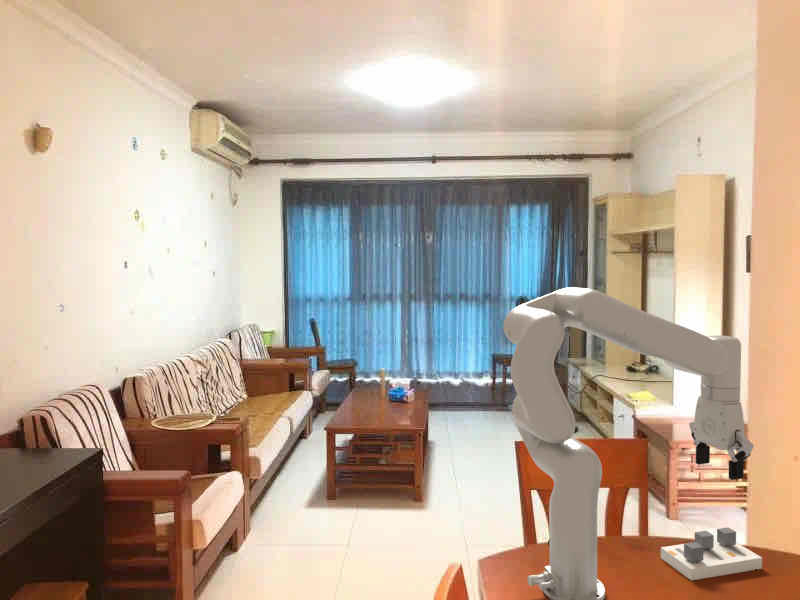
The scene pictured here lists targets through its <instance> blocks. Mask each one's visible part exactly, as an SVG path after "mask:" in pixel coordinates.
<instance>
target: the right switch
mask: <svg viewBox="0 0 800 600" xmlns="http://www.w3.org/2000/svg"><path fill="white" fill-rule="evenodd" d="M716 539H717V542H718V543H720V544H722V545H723V546H731V545H736V543H737V531H735V530H733V528H730V527H721V528H717V529H716Z"/></svg>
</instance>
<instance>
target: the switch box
mask: <svg viewBox="0 0 800 600" xmlns="http://www.w3.org/2000/svg"><path fill="white" fill-rule="evenodd" d="M684 544H685V543H682V544H674V545H669V546H668V545H667V546H661V547H660V558H661V559H662V560H663V561H664V562H665V563H666V564H668V565H670V567H672V568H674V569H675V570H676V571H678V572H679V573H680V574H682V575H684V577H685V578H687V579H688V580H690V581H695V580H701V579H702V580H703V579H706V578H707V579H708V578H714V577H715V578H716V577H719V576H727V575H731V574H738V573H743V572H744V573H745V572H751V571H755V569H757V570H762V569H763V557H762V556H760V555H758V554H756V553H755V552H753V551H752V550H750V549H749V548H747V547H744V546H743V545H741V544H740V543H737V542H736V545H731V546H723V545H722V544H720V543H718V542H717V538H715V539H714V546H713V548H711V549H705V550H704V554H703V560H702V561H696V562H690V561H689V560H688V559H686V558H685V557H684ZM750 570H751V571H750Z"/></svg>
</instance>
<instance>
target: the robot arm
mask: <svg viewBox="0 0 800 600" xmlns="http://www.w3.org/2000/svg"><path fill="white" fill-rule="evenodd" d="M502 327H503V332H504V334H505V336H506V338H507V339H508V341H510V343H512V344H513V345H515V348H514V351H513V354H512V357H511V361H510V369H509V371H510V378H511V381H512V385H513V386H514V389H515V392H516V396H515V398H514V400H513V402H512V408H511V411H512V413H511V414H512V419H513V421H514V424H515V426H516V428H517V430H518V432H519V435H520V437H521V439H522V441H523V443H524V445H525V447H526V448H527V451H528V453H529V455H530V457H531V459H532V460H533V462H534V463H535V465H536V466H537V467H538V469H540V470H541V471H542V472H544V473H545V474H546V475H548V476H549V478H551V479H552V480H553V489H552V492H551V495H550V499H549V505H548V508H549V510H548V512H549V513H548V517H549V521H548V522H549V525H548V526H549V530H548V532H549V538H550V548H549V565H546V566H544V571H543V572H541V574H533V575H528V576H527V583H528V585H529V587H532V586H538V587H539V590H540V591H543V593H544V594H545V595H546V596H547V597H548V598H549V599H550V600H604V599H605V598H606V588H605V586H604V584H603V582H602V581H600V580H599V579H598V502H599V501H598V499H599V492H600V487H601V483H602V482H601V481H602V476H603V468H602V463H601V462H602V461H601V460H600V458H599V456H598V455H597V453H596V452H595V451H594V450H593V449H592V448H591V447H589V446H588V445H587V444H586V443H583V442H582V441H580V440H578V439H577V438H574V437H573V436H574V433H575V429H576V419H575V416H574V411H573V410H572V408H571V406H570V403H569V402H568V399H567V397H566V395H565V393H564V390H563V389H562V387H561V385H560V382H559V380H558V377H557V375H556V372H555V367H554V366H555V360H556V356H557V354H558V351H559V349H560V348H561V346H562V343H563V342H564V337H565V332H566V331H565V330H566V329H565V328H568V327H569V328H574V329H575V328H576V329H579V330H582V331H584V332H586V333H589V334H591V335H594V336H596V337H598V338H601V339H603V340H605V341H607V342H610V343H612V344H615V345H616V346H619V347H621V348H624V349H626V350H629V351H631V352H635V353H638V354H641V355H643V356H644V355H645V356H649V357H653V358H657V359H660V360H663V361H664V363H665V364H666V365H668V366H669V367H671V368H672V369H675V370H677V371H679V372H680V371H681V372H684V373H690V374H693V375H697V376H700V395H699V396H698V398H697V402H696V406H695V411H694V421H691V422H689V423H688V426H689V429H690V432H691V437H692V438H693V445H694V446H695V464H697V465H704V464H705V465H706V464H707V465H708V464H710V462H711V461H710V458H711V457H710V456H711V453H710V452H711V447H713V448H715V449H718V450H720V451H727V454H728V455H729V457H730V459H731V460H729V461H728V479H729V480H731V481H734V480H742V479H744V473H745V472H744V470H745V469H744V468H745V467H744V466H745V465H744V463H745V462H746V461H747V459H748V458H749V457H750V456H751V454H752V451H753V449H754V444H753V442H751V440H749V439H748V438H747V437H746V436H745V421H744V412H743V405H742V402H741V381H742V380H741V379H742V378H741V377H742V376H741V374H742V373H741V372H742V343H741V340H740V339H739V338H737V337H735V336H729V335H709V336H707V335H704V334H703V333H700V332H697V331H695V330H692V329H690V328H687V327H684V326H682V325H680V324H677V323H674V322H672V321H668V320H666V319H665V318H661V317H659V316H657V315H655V314H652V313H648V312H646V311H644V310H642V309H639V308H637V307H635V306H632V305H631V304H628V303H626V302H625V301H622V300H619V299H617V298H615V297H613V296H611V295H609V294H606V293H603V292H601V291H599V290H596V289H594V288H587V287H586V288H585V287H577V286H576V287H575V286H571V287H564V288H561V289H558V290H555V291H553V292H551V293H548V294H545V295H543V296H541V297H537V298H535V299H533V300H530V301H527V302H525V303H522V304H519V305H518V306H515V307H514V308H512V309H511V310H510V311H509V312H508V313H507V314H506V315H505V318H504V321H503V326H502ZM735 451H736V453H735ZM549 538H548V539H549Z"/></svg>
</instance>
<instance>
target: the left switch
mask: <svg viewBox="0 0 800 600" xmlns="http://www.w3.org/2000/svg"><path fill="white" fill-rule="evenodd" d="M683 544H684V557H685V558H686V559H688V560H689V561H690V562H696V561H702V560H703V554H704V547H703V546H701V545H700V544H698V543H697V542H695V541H694V542H687V543H683Z"/></svg>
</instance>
